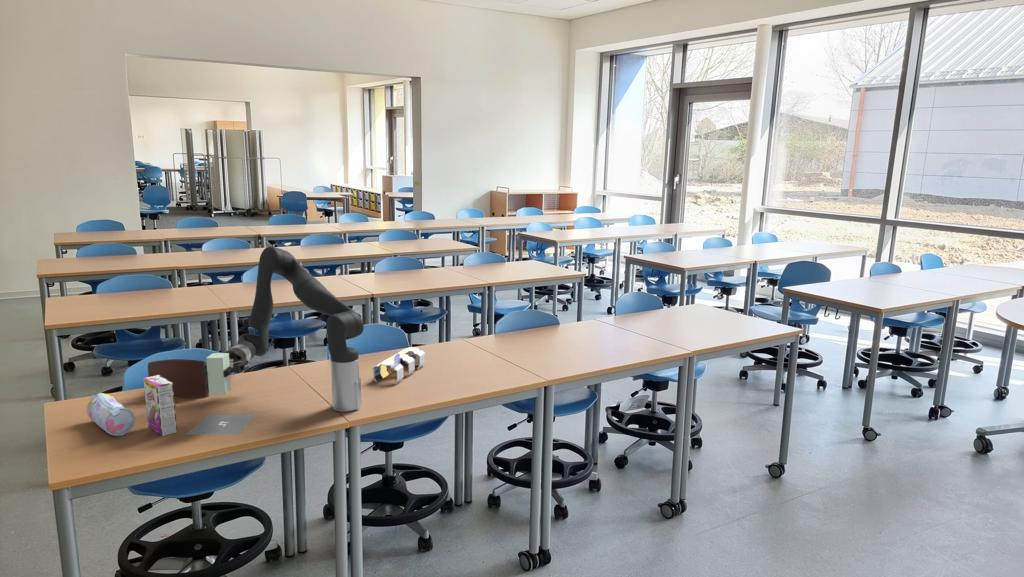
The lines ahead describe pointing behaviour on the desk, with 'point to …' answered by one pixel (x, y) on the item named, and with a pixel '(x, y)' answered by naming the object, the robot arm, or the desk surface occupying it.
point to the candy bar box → (160, 405)
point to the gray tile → (222, 424)
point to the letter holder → (182, 376)
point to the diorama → (400, 364)
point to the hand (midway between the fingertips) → (215, 374)
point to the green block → (218, 374)
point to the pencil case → (110, 414)
